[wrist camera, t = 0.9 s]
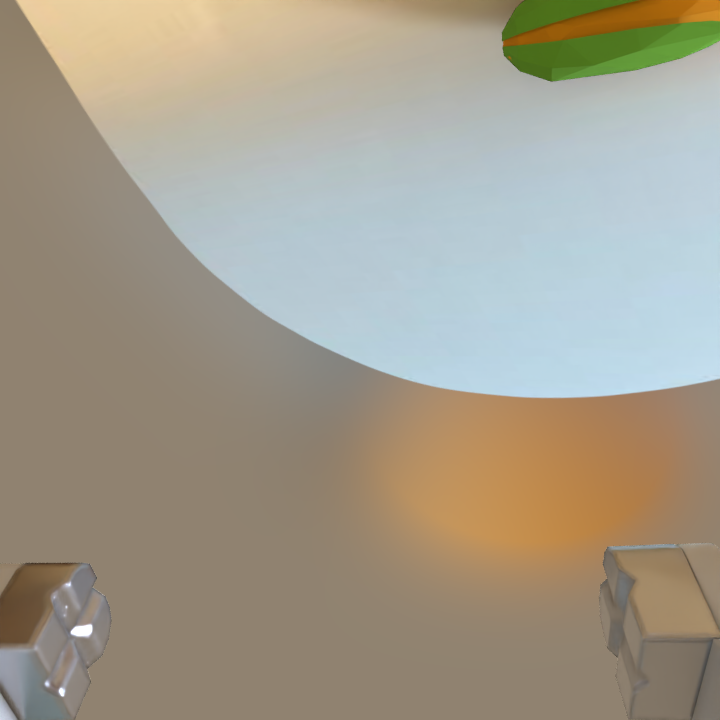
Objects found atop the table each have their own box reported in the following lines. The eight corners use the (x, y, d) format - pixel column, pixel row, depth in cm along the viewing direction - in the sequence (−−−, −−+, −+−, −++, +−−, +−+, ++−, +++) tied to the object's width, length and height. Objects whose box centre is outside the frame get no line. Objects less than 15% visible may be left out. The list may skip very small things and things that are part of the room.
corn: (494, 23, 44) (855, -56, 38) (495, -37, 48) (820, -117, 42) (508, 118, 50) (822, 63, 44) (507, 57, 54) (795, -1, 48)
